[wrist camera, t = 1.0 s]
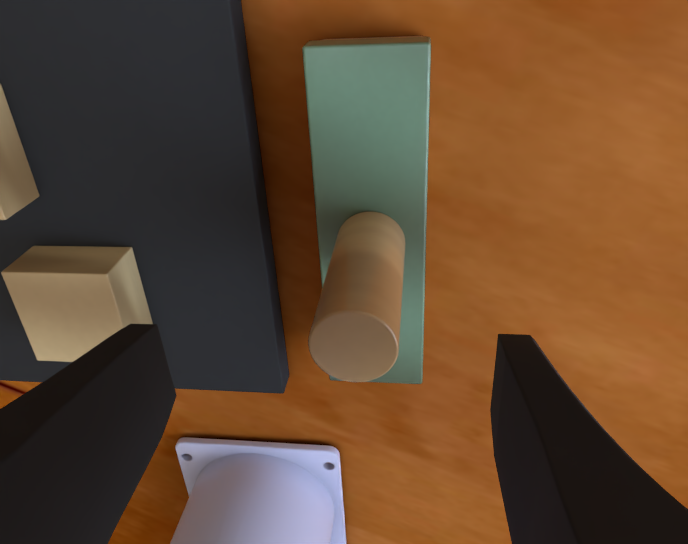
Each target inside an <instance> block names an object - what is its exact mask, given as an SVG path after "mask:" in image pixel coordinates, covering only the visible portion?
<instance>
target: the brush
mask: <svg viewBox="0 0 688 544" xmlns="http://www.w3.org/2000/svg"><path fill="white" fill-rule="evenodd" d="M302 52H303V64H304V76H305V88H306V100H307V112H308V124H309V136H310V148H311V160H312V172H313V185H314V197H315V209H316V221H317V233H318V245H319V257H320V269H321V281H322V292H321V295H320V299H319V302H318V306H317V309H316V313H315V316H314V320H313V323H312V327H311V330H310V334H309V339H308V346H309V351H310V353H311V356H312V358H313V360H314V361H315V363H316V364H317V365H318V366H319V367H320V368H321V369H322V370H323V371H324V372H326V373H327V374H329V378H330V380H337V381H349V382H383V383H406V384H421V383H422V378H423V338H424V299H425V260H426V220H427V181H428V142H429V102H430V63H431V39H430V37H424V36H400V37H370V38H341V39H323V40H313V41H309V42H307V43H306V44H305V45H304V46H303V49H302Z"/></svg>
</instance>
